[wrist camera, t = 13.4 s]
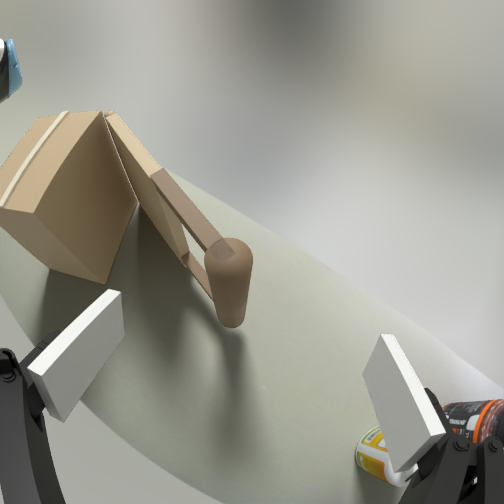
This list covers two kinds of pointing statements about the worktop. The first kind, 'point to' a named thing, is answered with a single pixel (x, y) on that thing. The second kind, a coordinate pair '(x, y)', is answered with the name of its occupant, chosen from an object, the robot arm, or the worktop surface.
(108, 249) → the carton
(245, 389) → the worktop surface
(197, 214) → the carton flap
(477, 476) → the robot arm
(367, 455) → the supplement bottle
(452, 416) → the supplement bottle
